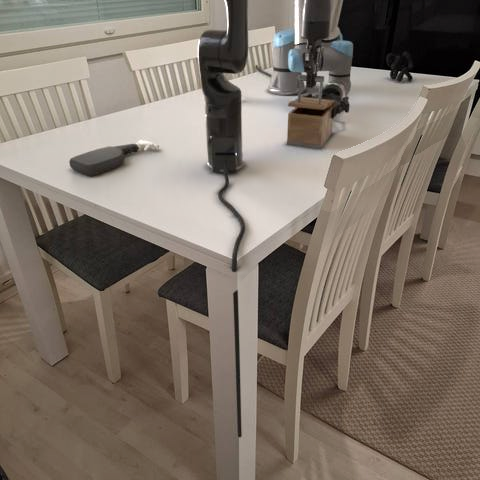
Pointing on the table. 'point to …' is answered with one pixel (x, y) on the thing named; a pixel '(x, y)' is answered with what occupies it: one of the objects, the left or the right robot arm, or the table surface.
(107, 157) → the spray bottle
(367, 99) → the table surface
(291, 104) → the wooden door panel
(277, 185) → the table surface
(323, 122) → the chest
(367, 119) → the table surface
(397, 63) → the squiggle
